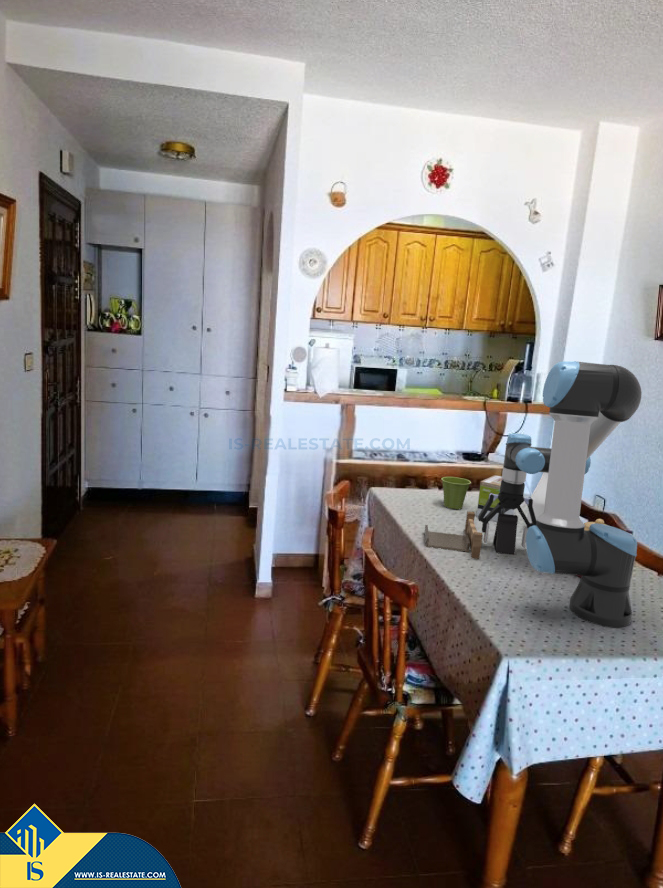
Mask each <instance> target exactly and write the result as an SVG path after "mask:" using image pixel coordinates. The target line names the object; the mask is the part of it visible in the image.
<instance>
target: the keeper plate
mask: <svg viewBox="0 0 663 888" xmlns="http://www.w3.org/2000/svg"><path fill="white" fill-rule="evenodd" d="M424 534H425V535H424V543H425V546H426V547H425V548H430V547H433V548H432V549H438V548H441V549H440V550H447V549H448V551H455V550H457V552H463V551H465V552H466V553H469V552H470V541H469V538H468V534H467V531H466V530H465V528H464V529H463V532H462V534H455V533H446V532H437V531H429V526H428V524H425V525H424Z"/></svg>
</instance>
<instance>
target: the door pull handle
mask: <svg viewBox="0 0 663 888" xmlns="http://www.w3.org/2000/svg"><path fill="white" fill-rule="evenodd" d="M475 515H476V514H475V511H467V512H466V518H465V525H464V529H465V530H466V531H467V534H468V538H469V541H470V548H469V550H470V549H471V550H470V553H471V554H470V557H471V559H472V558H474V559H473V560H480V557H481V556H480V555H481V550H482V543H483V537H484V535H483V532H479V531H477V527H476V525H475Z"/></svg>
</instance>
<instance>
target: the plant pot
mask: <svg viewBox="0 0 663 888" xmlns="http://www.w3.org/2000/svg"><path fill="white" fill-rule="evenodd" d="M441 481H442V482H441V483H442V490H443V506H444V507H445V508H446V507H448V508H447V509H449V508H451V509H450V510H454V509H455V510H461V509H463V506H464V503H465V499H466V495H467V492H468V490H469V488H470V484H472V482H471V480H469V479H467V478H461V477H455V476H444V477H441Z"/></svg>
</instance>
